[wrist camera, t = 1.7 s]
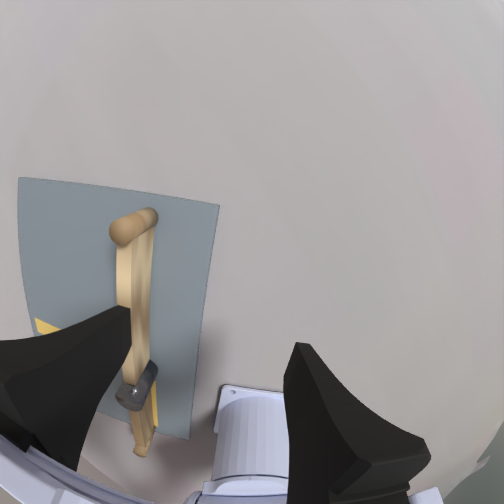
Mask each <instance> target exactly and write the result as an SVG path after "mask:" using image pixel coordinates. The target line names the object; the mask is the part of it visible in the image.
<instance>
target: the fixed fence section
mask: <svg viewBox="0 0 504 504" xmlns="http://www.w3.org/2000/svg"><path fill="white" fill-rule="evenodd" d="M129 415H130V420H131V424H132V429H133V434H134V438H135V442H136V445H135V448H134V450H133V452H134V453H135V454H136V455H138V456H140V457H146V455H147V452H148V449H149V446H150V443H151V440H152V437H153V435H154V432H155V429H156V427H155V425H154V421H153V410H152V396H151V390H150V392H149V395H148V397H147V399H146V401H145V404H144V406H143V408H142V410H141V411H137V412H135V411H130V410H129Z"/></svg>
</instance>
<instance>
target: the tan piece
mask: <svg viewBox="0 0 504 504" xmlns="http://www.w3.org/2000/svg"><path fill="white" fill-rule="evenodd" d="M157 223H158V213H157V212H156V210H155V209H153V208H151V207H146V208H144V209H141V210H139V211H136V212H134V213H131V214H129V215H126V216H124V217H121V218H119V219H117V220H114V221H113V222H112V223H111V224H110V226H109V236H110V238H111V240H112V241H113V242H114V243H115V244H117V260H116V290H117V305H121V306H124V307H128V308H130V311H131V335H132V346H131V348H130V351H129V353H128V355H127V357H126V360H125V362H124V363H123V365H122V371H123V379H124V382H125V383H128V384H131V385H134V386H136V384H137V382H138V380H139V378H140V377H141V375H142V373H143V371H144V369H145V367H146V365H147V363H148V361H149V359H150V349H149V315H150V284H151V266H152V252H153V240H154V230H155V225H156V224H157Z"/></svg>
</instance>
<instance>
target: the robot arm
mask: <svg viewBox="0 0 504 504" xmlns="http://www.w3.org/2000/svg"><path fill="white" fill-rule="evenodd" d="M131 346H132V335H131V311H130V308H128V307H124V306H121V305H117V306H114V307H112V308H110V309H107V310H105V311H103V312H101V313H99V314H97V315H95V316H93V317H90V318H88V319H86V320H84V321H82V322H79V323H77V324H74V325H72V326H69V327H67V328H64V329H61V330H58V331H55V332H52V333H48V334H45V335H41V336H36V337H30V338H25V339H17V340H2V341H0V486H1V487H2V488H3V489H4V490H6V491H7V492H8V493H10V494H11V495H12V496H13V497H14V498H16V499H17V500H18V501H20V502H21V503H23V504H157V503H153V502H150V501H146V500H143V499H140V498H137V497H134V496H131V495H128V494H125V493H123V492H120V491H117V490H115V489H112V488H110V487H107V486H105V485H102V484H100V483H98V482H96V481H94V480H91V479H89V478H87V477H85V476H83V475H81V474H79V473H77V472H76V471H77V466H78V462H79V458H80V454H81V450H82V447H83V444H84V441H85V438H86V435H87V432H88V429H89V426H90V424H91V421H92V419H93V416H94V414H95V412H96V409H97V407H98V405H99V403H100V401H101V399H102V397H103V395H104V394H105V392H106V391H107V389H108V387H109V386H110V384H111V383H112V381H113V379H114V378H115V376H116V375H117V373H118V371H119V370H120V368H121V367H122V365H123V363H124V362H125V360H126V357H127V355H128V353H129V351H130V348H131ZM231 390H234V391H231ZM214 432H215V433H217V434H218V438H217V444H216V451H215V457H214V464H213V471H212V478H211V482H207V481H205V482H204V483H203V489H202V491H195V492H193V493H192V494H191V495H190V496H189V497H188V498H187V499H186V500H185V502H184V503H183V504H443V501H442V499H441V496H440V493H439V490H438V488H437V487H436V486H435V487H432V488H429V489H426V490H424V491H421V492H418V493H415V494H413V495H411V496H409V497H408V496H407V493H406V491H408V490H409V489H410V485H409V482H408V481H410V480H411V479H412V478H413V477H415V476H416V475H417V474H418V473H419V472H420V471H422V470H423V469H424V468H425V467H426V466H427V465H428V463H429V462H430V460H431V454H430V452H429V450H428V448H427V445H426V443H425V441H424V439H423V438H420V437H418V436H416V435H413V434H411V433H409V432H406V431H404V430H402V429H400V428H398V427H397V426H395V425H393V424H391V423H389V422H388V421H386V420H384V419H383V418H381V417H380V416H378V415H377V414H376V413H374V412H373V411H371V410H370V409H369V408H367V407H366V406H365V405H364V404H363V403H361V402H360V401H359V400H358V399H357V398H356V397H355V396H353V395H352V394H351V393H350V392H349V391H348V390H347V389H346V388H345V387H344V386H343V384H342V383H341V382H340V381H339V380H338V379H337V378H336V377H335V376H334V374H333V373H332V372H331V371H330V370H329V368H328V367H327V366H326V364H325V363H324V362H323V361H322V359H321V358H320V357H319V355H318V354H317V353H316V351H315V350H314V349H313V347H312V346H311V345H310V344H307V343H299V342H296V343H295V346H294V349H293V352H292V355H291V358H290V360H289V363H288V366H287V369H286V371H285V374H284V385H283V393H280V392H272V391H264V390H257V389H250V388H243V387H237V386H232V385H224V386H223V387H222V390H221V395H220V400H219V405H218V410H217V415H216V420H215V425H214Z"/></svg>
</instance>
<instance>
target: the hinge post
mask: <svg viewBox="0 0 504 504" xmlns="http://www.w3.org/2000/svg"><path fill="white" fill-rule="evenodd" d="M157 374H158V367H157V365H156V364H155V363H154V362H153V361H151V360H150V359H149V361H148V363H147V365H146V367H145V369H144V371H143V373H142V375H141V377H140V378H139V380H138V382H137V384H136V386H134V385H131V384H128V383H125V382H124V379H123V381H122V383H121V385H120V386H119V388H118V390H117V392H116V393H115V398H116V400H117V402H118V403H119V404H120V405H121V406H123V407H124V408H126V409H128V410H130V411H135V412H137V411H141V410H142V408H143V406H144V404H145V401H146V399H147V397H148V395H149V392H150V390H151V388H152V386H153V383H154V381H155V379H156V377H157Z"/></svg>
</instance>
